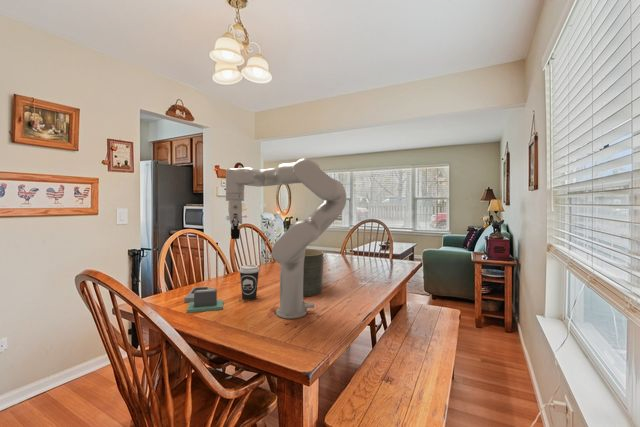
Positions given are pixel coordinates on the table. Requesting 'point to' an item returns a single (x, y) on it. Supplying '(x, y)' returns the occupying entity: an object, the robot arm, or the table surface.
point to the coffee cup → (249, 281)
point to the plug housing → (205, 297)
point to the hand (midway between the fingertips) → (234, 237)
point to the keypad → (191, 295)
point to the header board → (205, 307)
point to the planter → (313, 272)
